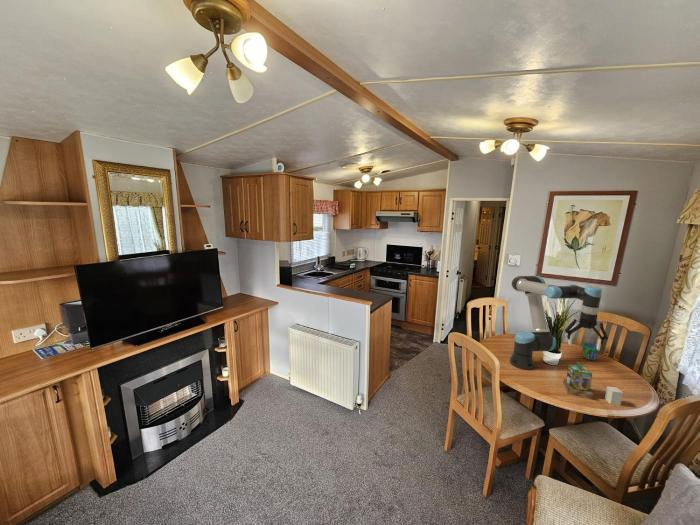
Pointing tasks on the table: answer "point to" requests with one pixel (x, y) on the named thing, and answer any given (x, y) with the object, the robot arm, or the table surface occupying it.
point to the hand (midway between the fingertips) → (583, 346)
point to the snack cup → (590, 351)
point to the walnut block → (577, 391)
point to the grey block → (613, 395)
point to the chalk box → (579, 377)
